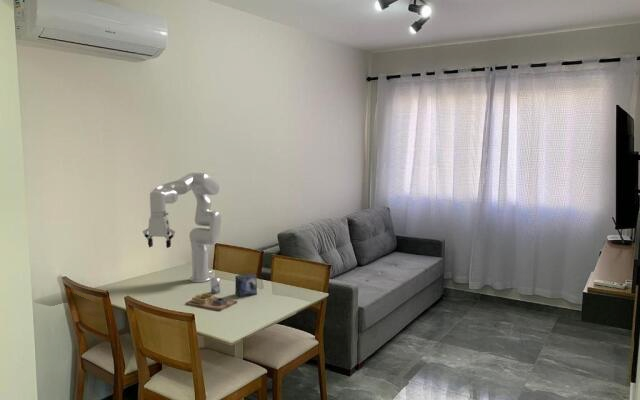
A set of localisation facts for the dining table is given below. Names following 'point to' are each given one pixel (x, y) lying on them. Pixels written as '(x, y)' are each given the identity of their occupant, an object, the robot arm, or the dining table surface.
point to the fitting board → (210, 302)
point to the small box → (246, 285)
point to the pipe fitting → (215, 285)
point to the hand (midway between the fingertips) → (159, 247)
